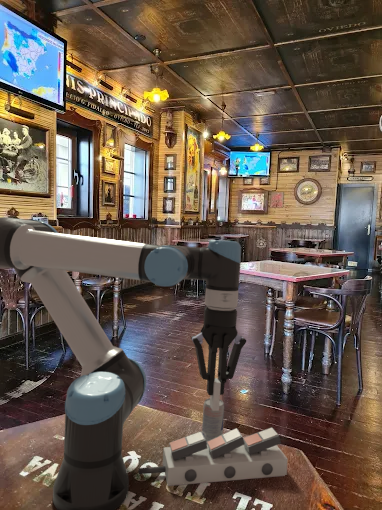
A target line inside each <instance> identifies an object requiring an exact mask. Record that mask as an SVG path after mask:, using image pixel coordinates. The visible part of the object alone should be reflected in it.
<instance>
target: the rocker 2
mask: <svg viewBox="0 0 382 510" xmlns="http://www.w3.org/2000/svg"><path fill="white" fill-rule="evenodd" d="M243 438H244V437H243V435H242V434H241V432H240V431H239V429H238V428H237V427H235V428H233V429H231V430H229V431H226V432H225V433H223V434H222V435H220V436H218V437H216V438H214V439H212V440H209V441H207V445H208V448H209V450H210V453H211V455H212V457H213V459H215V458H217V457H219V456H221V455H223V454H225V453H228V452H230V451H232V450H234V449H236V448H238V447H240V446H242V445H244V444H245V443H244V440H243Z"/></svg>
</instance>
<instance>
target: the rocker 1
mask: <svg viewBox="0 0 382 510" xmlns="http://www.w3.org/2000/svg"><path fill="white" fill-rule="evenodd" d="M168 445H169V447H170V449H171V452H172V456H173V460H177V459H180V458H183V457H185V456H188V455H191V454H193V453H196V452H199V451H202V450H204V449H207V444H206V440H205V438H204V436H203V434H202V430H201V431H198V432H195V433H192V434H189V435H187V436H184V437H181V438H178V439H176V440H173V441H171V442H168Z"/></svg>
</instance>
